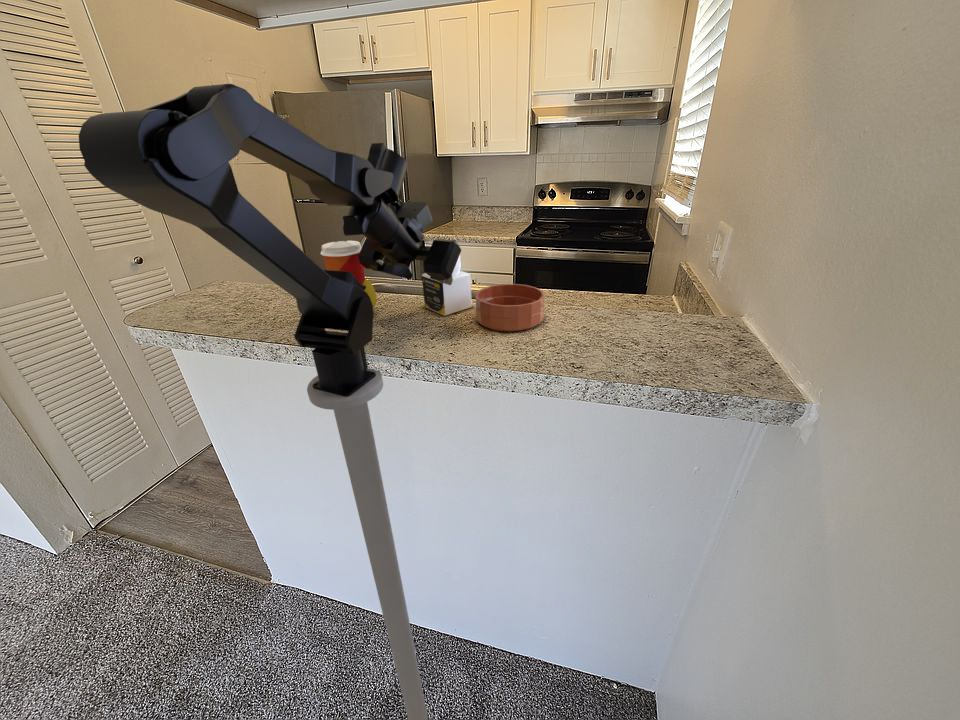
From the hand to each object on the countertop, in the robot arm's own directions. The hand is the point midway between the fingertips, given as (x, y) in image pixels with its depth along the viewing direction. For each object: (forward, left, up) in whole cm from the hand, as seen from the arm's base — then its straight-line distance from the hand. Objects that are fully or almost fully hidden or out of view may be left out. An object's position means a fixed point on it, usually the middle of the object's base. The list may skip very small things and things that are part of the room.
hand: (430, 279), depth 76 cm
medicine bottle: (+6, 0, -8) cm, 9 cm away
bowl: (+4, -14, -7) cm, 17 cm away
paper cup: (-5, +15, 0) cm, 16 cm away
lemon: (-4, +14, -8) cm, 16 cm away
